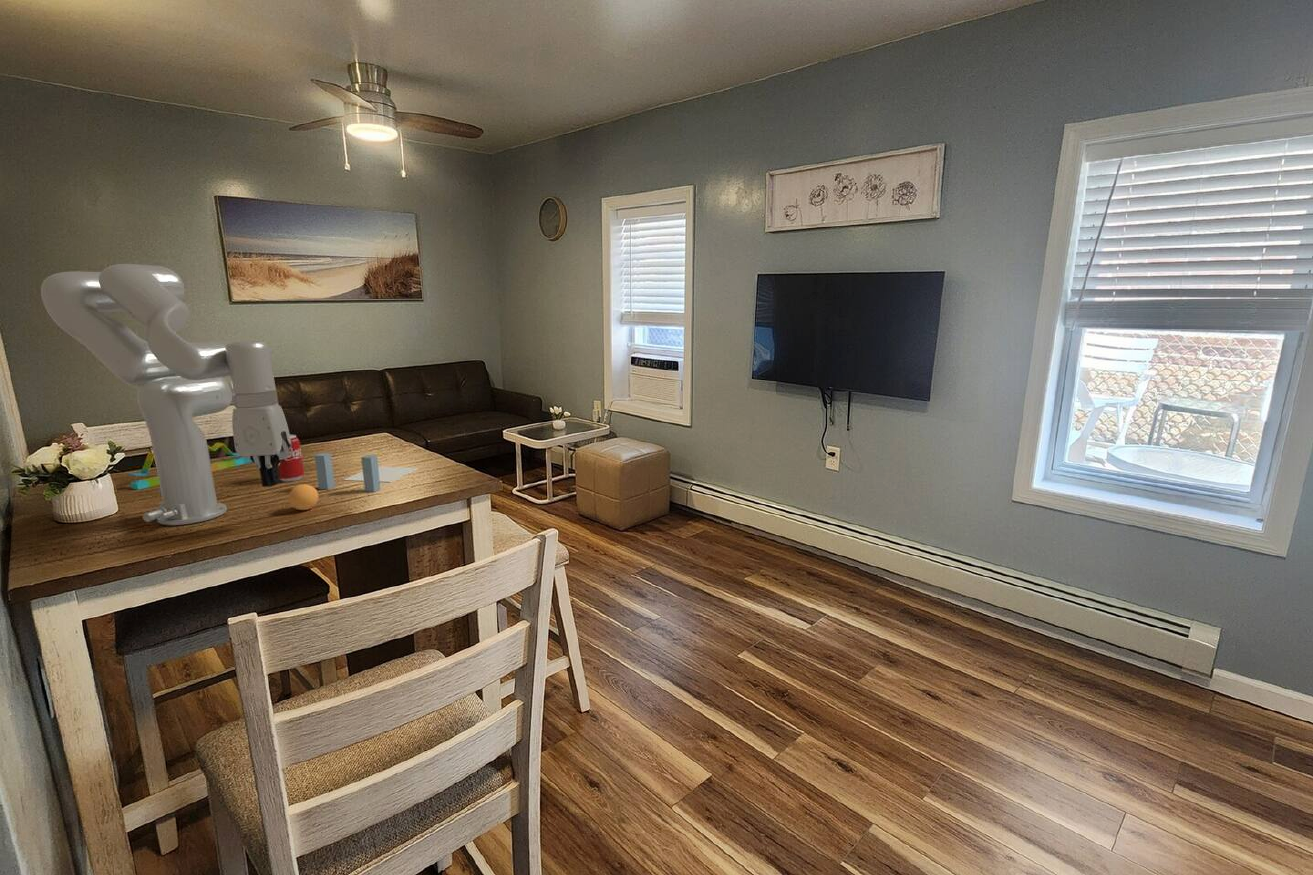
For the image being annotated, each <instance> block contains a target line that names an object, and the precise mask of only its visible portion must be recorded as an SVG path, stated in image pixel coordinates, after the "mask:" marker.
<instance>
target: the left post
mask: <svg viewBox="0 0 1313 875" xmlns="http://www.w3.org/2000/svg"><path fill="white" fill-rule="evenodd" d="M314 459H315V460H314V462H315V468H316V474H317V475H316V477H317V482H318V483H317V484H318V490H325V491H327V490H328V491H329V490H331V489H333V488H335V487H336V486H335V484H336V483H335V478H334V476H335V475H334V468H333V459H332V454H331V453H326V452H324V453H323V452H322V453H318V454H315V455H314Z"/></svg>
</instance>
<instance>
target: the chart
mask: <svg viewBox="0 0 1313 875" xmlns="http://www.w3.org/2000/svg"><path fill="white" fill-rule="evenodd" d="M207 446H208V452H209V451H212V452H216V451H217V450H219V448H221V450H223V451H224V452H225V453H226V455H230V456H238V457H235V458H230V459H226V460H221V461H217V462H213V463H211V469H212V473H213V472H215V471H220V470H226V469H228V468H232V467H237V466H242V465H244V464H249V463H253V461H251V460H248V459H244V458H243V457H242V456H241V455H240V454H238V453H237V452H232V451H231V450H230V449H229V447H228V446H226V445H225V444H224V443H223V442H216V443H214V444H213V445H212V446H210V445H208V444H207ZM154 459H155V457H154V452H148V453H147V455H146V457H145V460H144V463H143V467H142V468H141V471H140V472H136V473H135V472H134V473H129V476H133V477H140V476H141V477H143V476H148V474H149V471H150V469H151V465H152V463H153V461H154ZM129 484H130V489H132V490H137V491H139V490H142V489H146V488H150V487H152V488H153V487H155V486H160V483H159V478H158V475H156V476H153V477H148V478H144V479H140V480H135V481H134V480H133V481H131V482H130V483H129Z"/></svg>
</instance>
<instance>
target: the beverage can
mask: <svg viewBox="0 0 1313 875" xmlns="http://www.w3.org/2000/svg"><path fill="white" fill-rule="evenodd" d="M290 439H291V448H290V449H289V452H290V454H291V456H290V457H289V458H285V459H282V460H281V462H280V465H279V466H278V471H279V477H280V482H294V481H298V480H301V479H302V477H303V476H304V475H305V472H304V471H305V470H304V464H303V457H302V456H303V455H302V449H301V448H302V447H301V442H300V440H299V438H298V437H297V434H290Z"/></svg>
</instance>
